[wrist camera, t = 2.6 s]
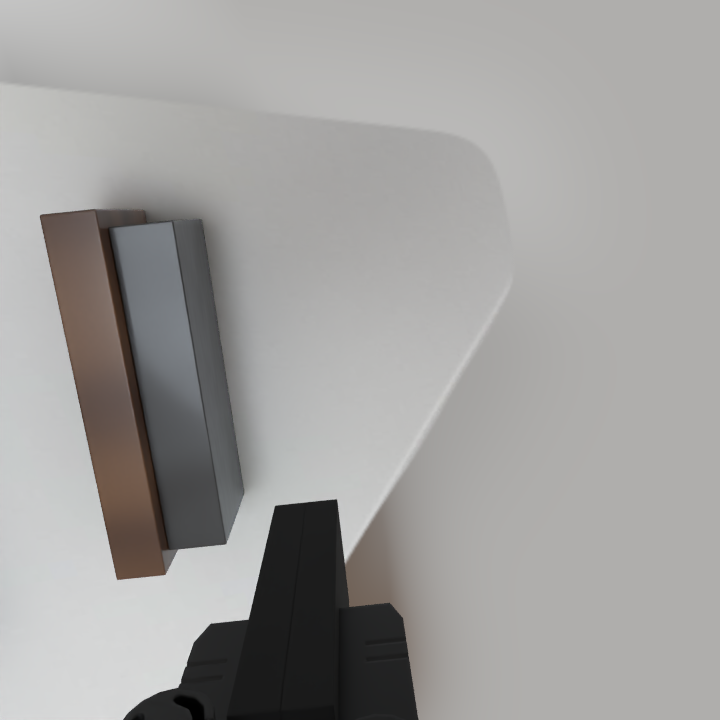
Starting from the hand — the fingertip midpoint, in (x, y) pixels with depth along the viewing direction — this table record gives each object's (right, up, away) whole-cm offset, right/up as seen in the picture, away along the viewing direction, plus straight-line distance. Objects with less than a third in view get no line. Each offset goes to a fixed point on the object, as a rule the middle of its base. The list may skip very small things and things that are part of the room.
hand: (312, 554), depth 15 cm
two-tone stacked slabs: (-9, +4, +21) cm, 24 cm away
